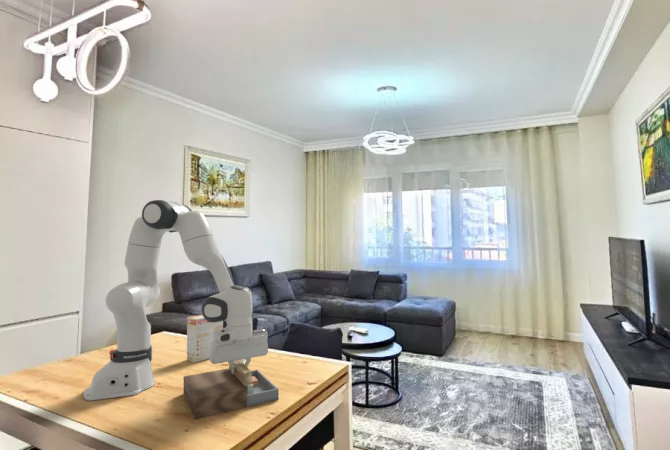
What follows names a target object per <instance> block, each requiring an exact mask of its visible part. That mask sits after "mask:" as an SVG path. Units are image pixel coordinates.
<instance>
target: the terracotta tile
mask: <svg viewBox="0 0 670 450" xmlns="http://www.w3.org/2000/svg"><path fill="white" fill-rule="evenodd" d="M252 384H253V387H255V386H258V380H257V379H256V378H255V377H254V376H252Z"/></svg>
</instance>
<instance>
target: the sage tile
mask: <svg viewBox="0 0 670 450" xmlns="http://www.w3.org/2000/svg"><path fill="white" fill-rule="evenodd" d="M243 385H244V384H243ZM245 387H246V388H247V394H248V395H250V394H253V384H250V385H245Z"/></svg>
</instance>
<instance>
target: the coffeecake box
mask: <svg viewBox="0 0 670 450" xmlns="http://www.w3.org/2000/svg"><path fill="white" fill-rule="evenodd" d="M186 324H187V325H186V361H189V362H192V363H194V364H196V363H198V362H202V361H206V360H208V359H209V353H210V346H211V343H212V341H213V340H214V338H213V333H214V332H216V331H219V330H221V329H223V328H224V321H220V322H215V323H214V322H208V321H207V320H205V318H204V317H203V315H202V314H198V315H193V316H188V317H186Z"/></svg>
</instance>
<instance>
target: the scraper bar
mask: <svg viewBox="0 0 670 450" xmlns="http://www.w3.org/2000/svg"><path fill="white" fill-rule="evenodd" d="M232 365H233V367H236V368H237V373H234V374H235V375H236V377H237V378H238V379H239V380H240V381H241V382H242V383H243V384H244V386H245V385H250V384H252V372H251V371H252V370H250V368H249V367H248V368H247V367H246V366H245V363H244V364H243V363H242V362H241V361H240V360H235V361H234V364H232ZM228 368H229V369H230V370H231V367H230V365H229V364H228Z"/></svg>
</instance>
